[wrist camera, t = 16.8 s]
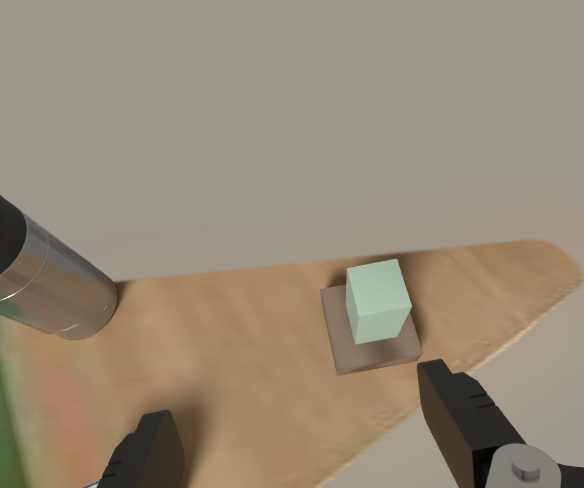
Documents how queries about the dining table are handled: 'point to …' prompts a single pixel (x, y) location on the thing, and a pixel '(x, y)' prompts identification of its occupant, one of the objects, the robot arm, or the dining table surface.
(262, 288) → the dining table surface
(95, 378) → the dining table surface
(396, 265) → the sage block
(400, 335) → the walnut plinth
